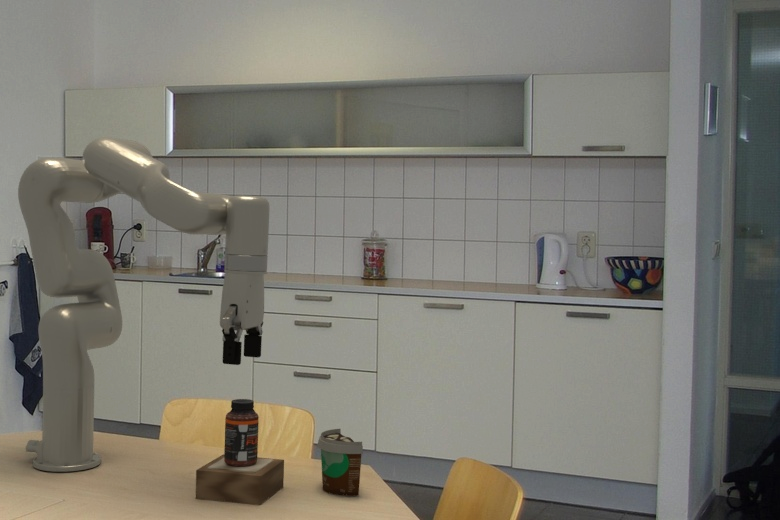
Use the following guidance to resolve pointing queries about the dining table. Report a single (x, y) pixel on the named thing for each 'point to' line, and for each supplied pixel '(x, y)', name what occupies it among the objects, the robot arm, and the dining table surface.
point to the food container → (340, 463)
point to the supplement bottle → (241, 434)
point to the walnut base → (240, 481)
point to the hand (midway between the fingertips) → (242, 360)
